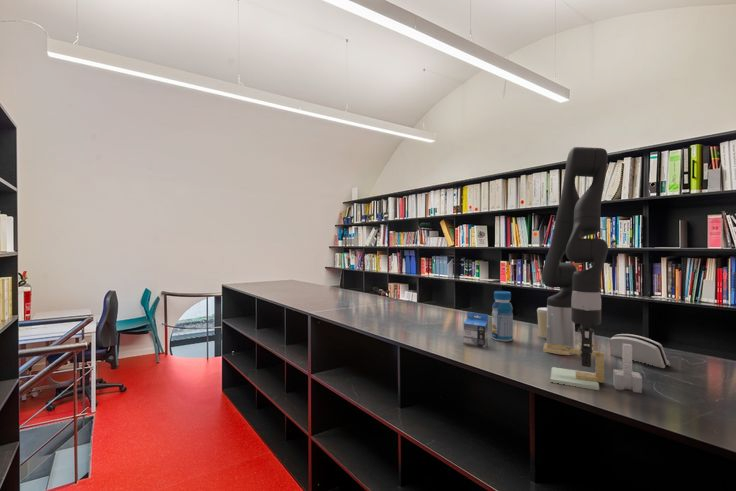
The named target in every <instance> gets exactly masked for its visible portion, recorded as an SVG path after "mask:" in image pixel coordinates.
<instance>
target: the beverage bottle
mask: <svg viewBox="0 0 736 491" xmlns="http://www.w3.org/2000/svg"><path fill="white" fill-rule="evenodd" d="M511 292H512V291H505V290H495V291H493V299H494V300H495V301H494V302H493V303H492V307H491V308H492V312H491V338H492V339H493V340H495V341H498V342H511V341H513V338H514V337H513V325H514V324H513V323H514V322H513V321H514V320H513V319H514V318H513V317H514V314H513V309H514V308H513V305H512V303H511V302H510V301H511V299H512V293H511Z"/></svg>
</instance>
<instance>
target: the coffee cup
mask: <svg viewBox="0 0 736 491" xmlns="http://www.w3.org/2000/svg"><path fill="white" fill-rule="evenodd" d="M536 313H537V326H538V328H537V329H538V337H540V338H541V339H546V335H547V307H538V308H537V309H536Z"/></svg>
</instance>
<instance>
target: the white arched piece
mask: <svg viewBox="0 0 736 491" xmlns="http://www.w3.org/2000/svg"><path fill="white" fill-rule="evenodd" d="M623 344H631V345H632V360H634V361H633V362H636V361H639V362H638V363H640V362H642V363H641V364H644V363H646V364H645V365H648V364H649V366H652V365H653V367H656V368H660V369H664V368H666V366H667V365H668V366H667V367H670V366H671V363H670V360H668V359H667V356H666V352H665V350H664V348H663V345H662V344H661V343H660V342H658V341H655V340H652V339H651V338H648V337H645V336H643V335H642V336H641V335H636V334H632V333H631V334H630V333H620V334H615V335H613V336H612V337H611V338H610V340H609V348H610V356H614V357H618V358H623Z"/></svg>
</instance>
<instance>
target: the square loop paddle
mask: <svg viewBox="0 0 736 491" xmlns="http://www.w3.org/2000/svg"><path fill="white" fill-rule="evenodd" d="M548 347H550V348H548ZM552 348H558V349H552ZM560 349H566V350H560ZM542 351H543V352H544V353H551V354H554V353H558V354H565V355H564V356H571V355H570V353H575V354H577V355H581V354H582V352H581V348H576V347H575V348H570V346H567V345H558V344H550V343H546V342H544V343H543V349H542ZM558 354H557V355H558ZM575 354H574V355H575ZM591 357H595V361H594V362H595V364H594V366H595V370H594V373H595V374H592V373H593V372H589V373H585V372H586V371H583V372H578V371H579V370H576V379H581V380H588V381H594V382H598V383H603V384H605V352H604V351H600V350H599V351H598V350H593V352H592V354H591Z"/></svg>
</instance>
